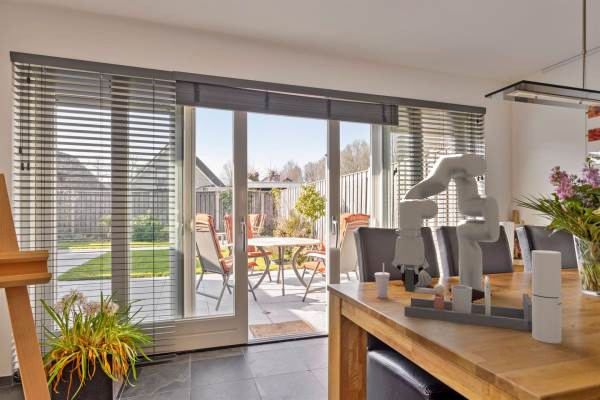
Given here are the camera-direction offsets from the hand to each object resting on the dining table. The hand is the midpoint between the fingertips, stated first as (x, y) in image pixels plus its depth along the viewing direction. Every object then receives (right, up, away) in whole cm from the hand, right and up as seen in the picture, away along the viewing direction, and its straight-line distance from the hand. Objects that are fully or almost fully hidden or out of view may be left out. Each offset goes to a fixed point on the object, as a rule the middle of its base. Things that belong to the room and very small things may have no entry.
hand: (410, 283), depth 137 cm
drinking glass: (+16, -10, -7) cm, 20 cm away
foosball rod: (+5, -9, -2) cm, 11 cm away
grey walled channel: (+17, -10, -8) cm, 22 cm away
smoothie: (-6, -10, +19) cm, 23 cm away
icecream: (+26, -10, +9) cm, 29 cm away
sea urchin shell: (+15, -10, +40) cm, 44 cm away
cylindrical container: (+31, -10, -29) cm, 43 cm away
